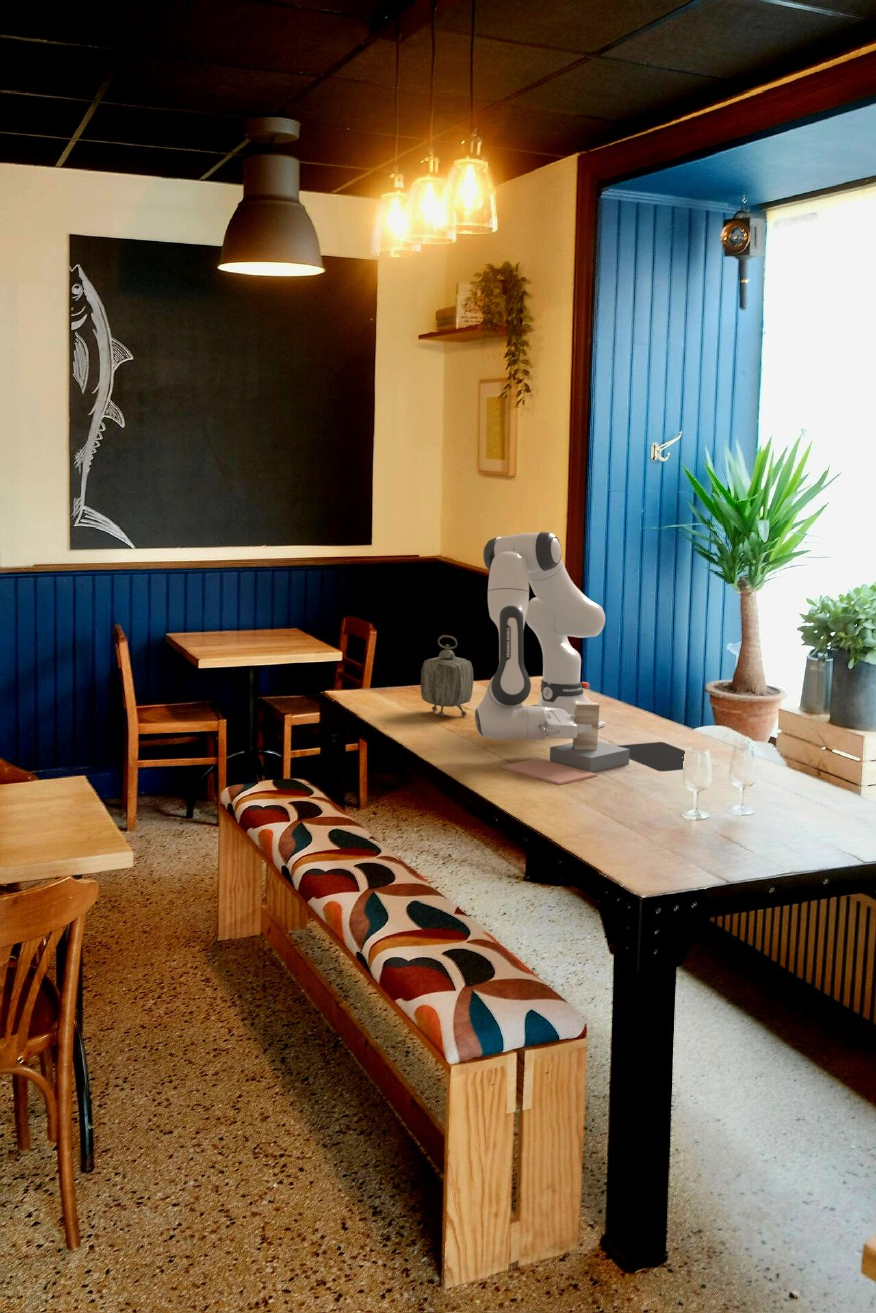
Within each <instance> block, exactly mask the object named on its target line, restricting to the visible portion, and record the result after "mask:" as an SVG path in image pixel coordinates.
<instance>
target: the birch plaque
mask: <svg viewBox="0 0 876 1313" xmlns="http://www.w3.org/2000/svg"><path fill="white" fill-rule="evenodd" d="M599 720H600V704H599V703H598V702H593V703H579V702H575V711H574V722H575V723H576V724H579V725H585V724H591V725H592V731H591V732H583V733H577V737H576V738H573V739H572V743H573V748H574V749H592V750H597V741H599V740H598V737H599V736H598V735H599V728H598V723H599Z"/></svg>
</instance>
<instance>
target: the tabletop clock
mask: <svg viewBox="0 0 876 1313" xmlns="http://www.w3.org/2000/svg"><path fill="white" fill-rule="evenodd" d="M443 638H450V639H452V640H453V641H454V642H455V645H454V646H450V644H448V643H447V644H445V645H442V644H441V643H440V640H442V639H443ZM437 644H438V646H439V647H441V648H442V649H443V650H441V651H440V652H439V655H438V656H437V657H433V658H428V659H426V660H424V662H423V663H422V667H421V674H420V696H421V699H422V700H423V701H424V702H426V703H428V704H430V705H434V706H432V708H431V709H432V711H433V712H437V710H438V707H437V706H439V707H440V711H439V712H438V716H439V717H443V716H444V711H443V710H444V708H445V707H448V708H453V707H457V708H458V709H459V710H460V711H461V713H460V715H461V716H462V717H465V716H466V715H467V711H465V710H463V708H462V706H461V705H464V704H467V703H469V702H470V701H471V699H472V696H473V689H474V668H473V665H472V664H473V663H472V662H471V661H470V660H469V659H468V660H467V659H466V658H462V657H457V656H456V655H455V654H456V653H454V651H453V649H455V648H457V646H458V641H457V638H456V637H454V636H452V635H448V634H443V635H440V637H438V639H437Z"/></svg>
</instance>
